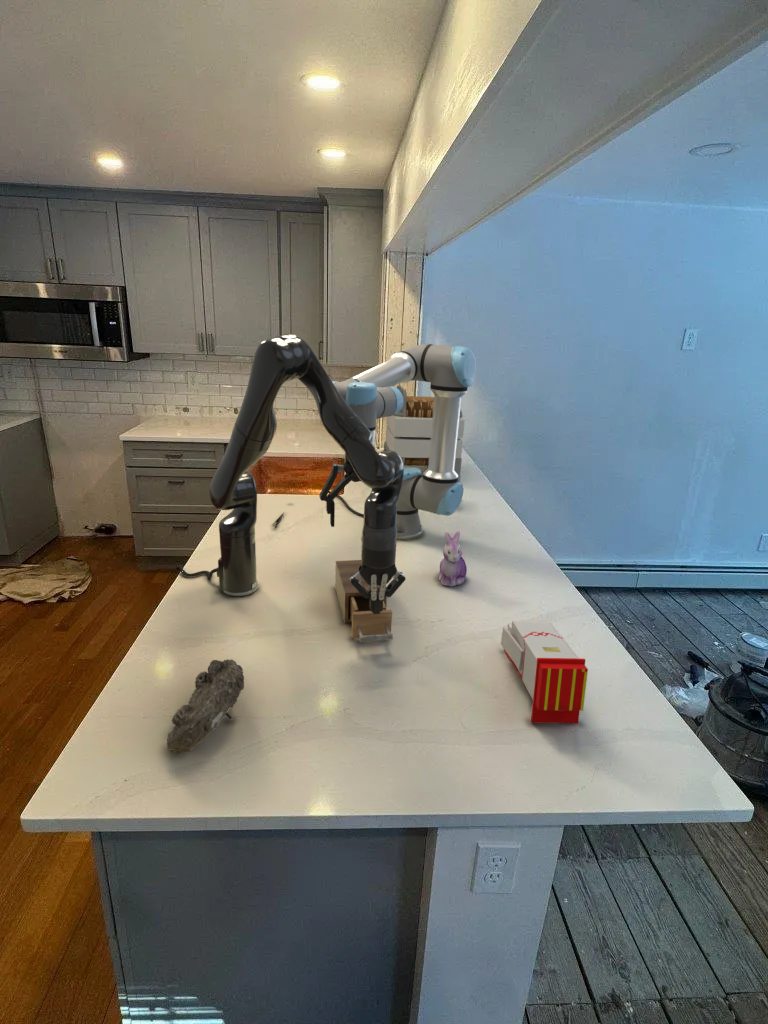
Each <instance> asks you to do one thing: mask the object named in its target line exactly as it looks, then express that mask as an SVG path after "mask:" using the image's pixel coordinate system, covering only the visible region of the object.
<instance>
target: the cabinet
mask: <svg viewBox="0 0 768 1024" xmlns="http://www.w3.org/2000/svg"><path fill="white" fill-rule="evenodd" d="M360 565H361V559H352V560H351V559H350V560H336V561H335V569H334V570H335V575H334V579H335V581H334V589H335V593H336V596H337V600H338V603H339V607H340V611H341V614H342V619H343V621H344V622H343V623H344V624H347V623H352V622H351V618H350V615H349V611H348V608H349V596H362V595H361V594H360V593H359V591H358V590H357V589H356V588H355V587H354V586H353V585H352V583H351V581H350V578H349V576H350V575H352V574H353V575H355V574H356V573H357V572H359V567H360ZM361 584H362V585H363V586H364V587H365V588H366V589H367V590H368V591H369V585H368V584H367V583H366V582H365V580H364V579H363V578H362V576H361ZM377 587H378V586H377ZM376 593H377V591H376ZM387 599H388V597H385V598H384V599H383V601H384V604H385V606H386V607H387Z"/></svg>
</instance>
